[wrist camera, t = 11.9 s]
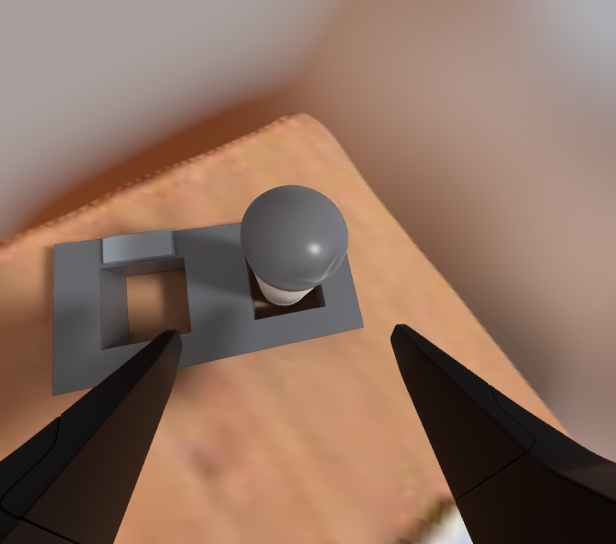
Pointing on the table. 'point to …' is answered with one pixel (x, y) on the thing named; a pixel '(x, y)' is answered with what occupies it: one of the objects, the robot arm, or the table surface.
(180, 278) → the table surface
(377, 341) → the table surface
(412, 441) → the table surface
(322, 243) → the white dome-top cylinder
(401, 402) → the table surface
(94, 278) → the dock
